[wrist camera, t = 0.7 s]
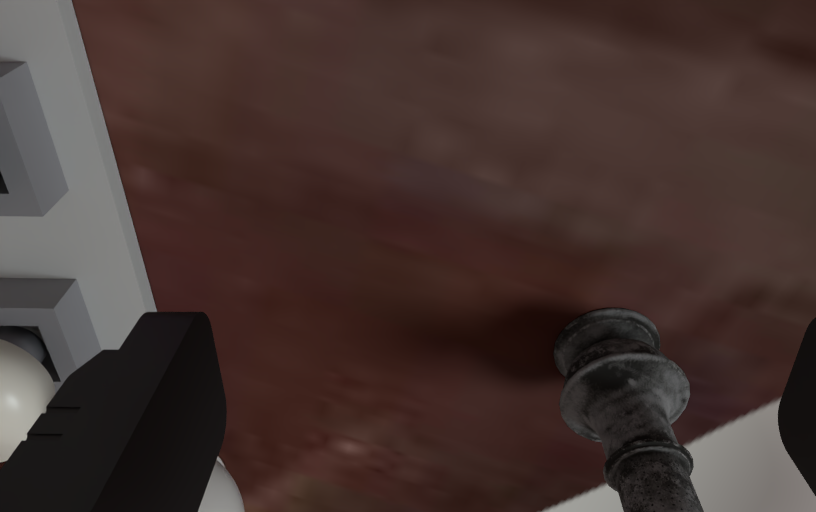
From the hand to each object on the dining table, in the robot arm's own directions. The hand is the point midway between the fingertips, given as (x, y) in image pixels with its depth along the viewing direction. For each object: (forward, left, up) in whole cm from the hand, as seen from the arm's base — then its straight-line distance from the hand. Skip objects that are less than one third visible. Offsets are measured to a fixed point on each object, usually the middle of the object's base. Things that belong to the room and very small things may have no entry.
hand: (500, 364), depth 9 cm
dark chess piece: (+16, +8, -18) cm, 26 cm away
